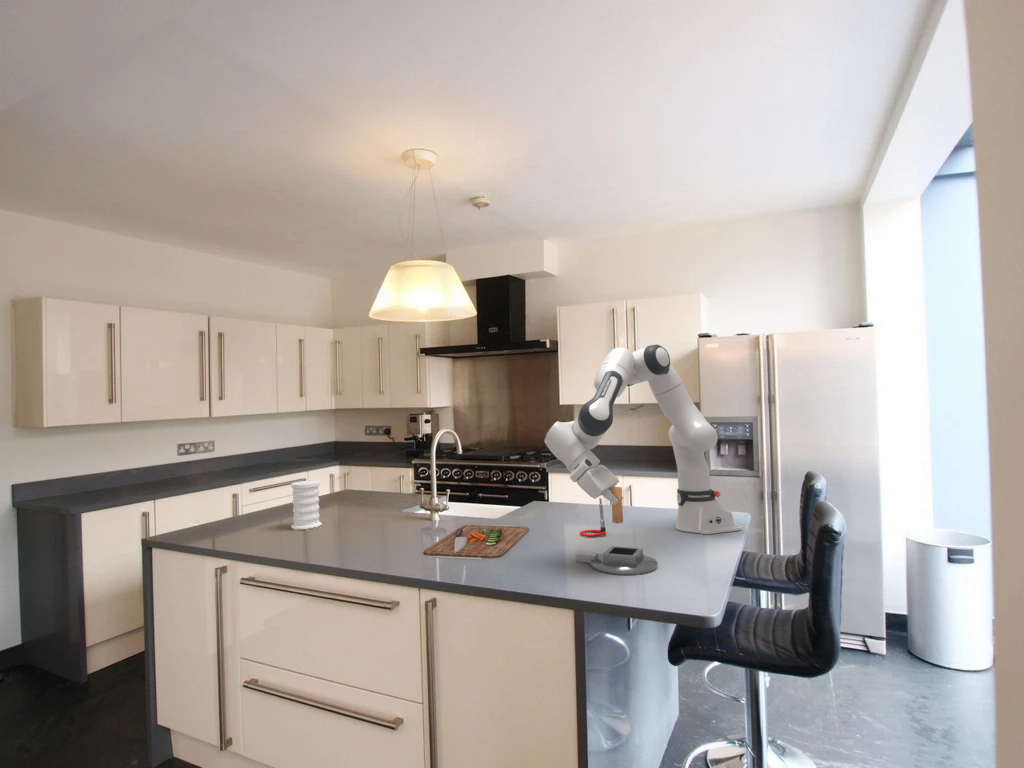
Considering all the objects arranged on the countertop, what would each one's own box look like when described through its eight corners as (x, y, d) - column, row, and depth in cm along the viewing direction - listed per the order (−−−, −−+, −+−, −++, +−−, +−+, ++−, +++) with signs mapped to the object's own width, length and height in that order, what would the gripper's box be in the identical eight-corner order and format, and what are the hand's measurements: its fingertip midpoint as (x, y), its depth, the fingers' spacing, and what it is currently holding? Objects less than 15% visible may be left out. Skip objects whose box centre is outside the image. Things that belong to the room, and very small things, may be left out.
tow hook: (580, 539, 201) (607, 537, 201) (577, 502, 202) (603, 500, 201) (578, 533, 210) (604, 531, 209) (575, 497, 210) (601, 496, 210)
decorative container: (285, 529, 231) (284, 483, 231) (310, 523, 241) (308, 479, 241) (303, 532, 224) (301, 485, 225) (327, 526, 234) (326, 481, 234)
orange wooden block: (621, 520, 170) (620, 486, 170) (624, 522, 167) (623, 488, 167) (611, 521, 170) (610, 487, 170) (614, 523, 167) (613, 488, 167)
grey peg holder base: (587, 552, 182) (587, 539, 182) (663, 559, 172) (662, 545, 172) (566, 569, 165) (566, 555, 165) (649, 578, 155) (649, 563, 155)
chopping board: (497, 562, 176) (497, 552, 176) (417, 558, 183) (416, 549, 183) (532, 528, 220) (532, 520, 220) (466, 526, 227) (465, 518, 227)
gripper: (589, 469, 183) (621, 502, 179) (567, 479, 164) (602, 516, 160) (602, 455, 181) (634, 488, 177) (582, 463, 163) (617, 500, 158)
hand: (619, 501), depth 168 cm, fingers closed on orange wooden block, 3 cm apart
